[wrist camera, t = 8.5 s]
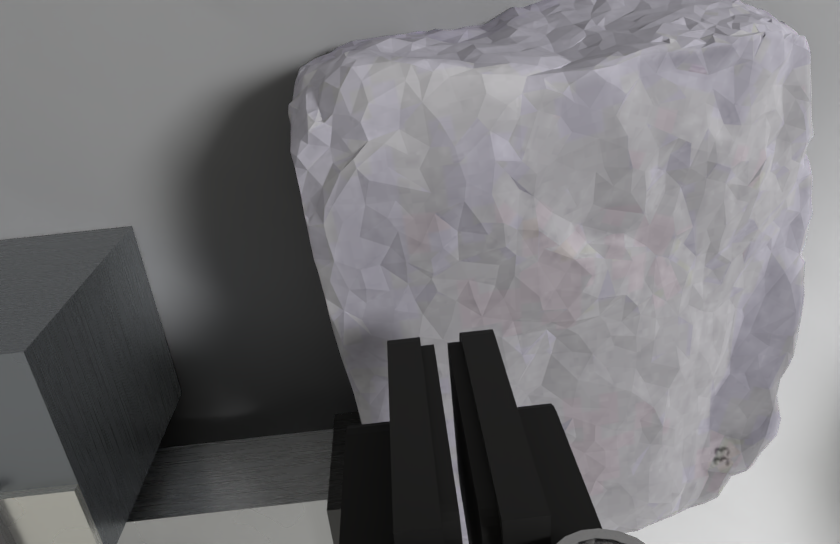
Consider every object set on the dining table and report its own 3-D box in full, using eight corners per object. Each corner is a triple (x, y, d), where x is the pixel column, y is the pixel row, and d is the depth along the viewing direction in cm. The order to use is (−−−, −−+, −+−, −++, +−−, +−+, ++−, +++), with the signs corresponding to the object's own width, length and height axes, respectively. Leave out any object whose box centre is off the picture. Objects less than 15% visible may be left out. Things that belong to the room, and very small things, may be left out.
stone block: (702, -52, 15) (246, 45, 13) (895, -50, 11) (262, 94, 9) (688, 379, 20) (368, 485, 19) (811, 492, 16) (413, 640, 15)
